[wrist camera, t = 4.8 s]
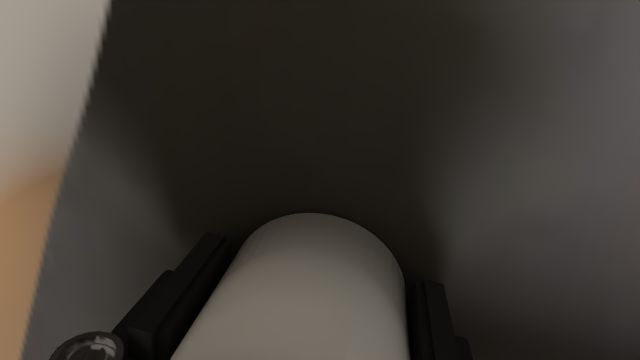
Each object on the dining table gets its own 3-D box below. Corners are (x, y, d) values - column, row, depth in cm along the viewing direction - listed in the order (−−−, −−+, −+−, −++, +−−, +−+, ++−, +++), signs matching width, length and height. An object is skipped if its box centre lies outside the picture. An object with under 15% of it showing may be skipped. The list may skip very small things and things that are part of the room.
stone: (239, 195, 11) (138, 318, 7) (425, 235, 11) (454, 394, 6) (227, 336, 13) (143, 505, 9) (384, 374, 13) (383, 572, 8)
